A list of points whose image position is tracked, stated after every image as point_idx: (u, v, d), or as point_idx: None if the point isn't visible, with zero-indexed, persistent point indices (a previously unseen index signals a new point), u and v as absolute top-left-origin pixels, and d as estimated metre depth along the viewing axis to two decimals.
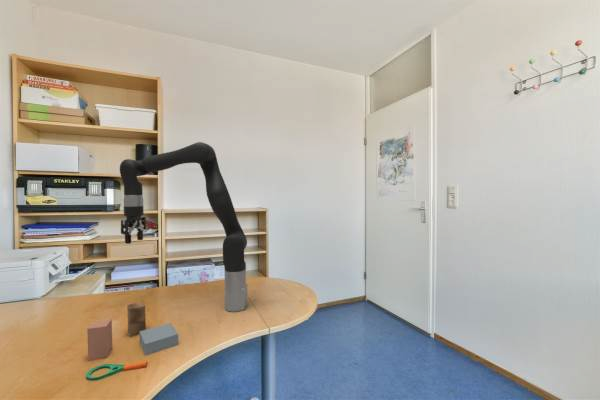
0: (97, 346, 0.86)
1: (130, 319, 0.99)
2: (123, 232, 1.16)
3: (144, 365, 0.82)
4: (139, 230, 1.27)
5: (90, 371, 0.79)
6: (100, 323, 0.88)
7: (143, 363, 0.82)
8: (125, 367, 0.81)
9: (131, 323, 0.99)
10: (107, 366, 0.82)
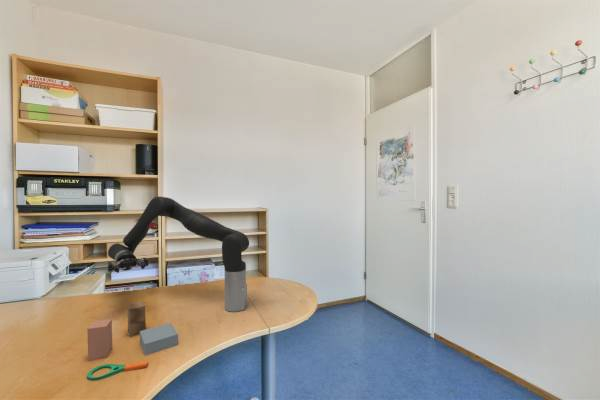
0: (97, 346, 0.86)
1: (130, 319, 0.99)
2: None
3: (145, 365, 0.82)
4: None
5: (91, 371, 0.79)
6: (100, 323, 0.88)
7: (143, 363, 0.82)
8: (126, 367, 0.80)
9: (131, 323, 0.99)
10: (108, 366, 0.82)
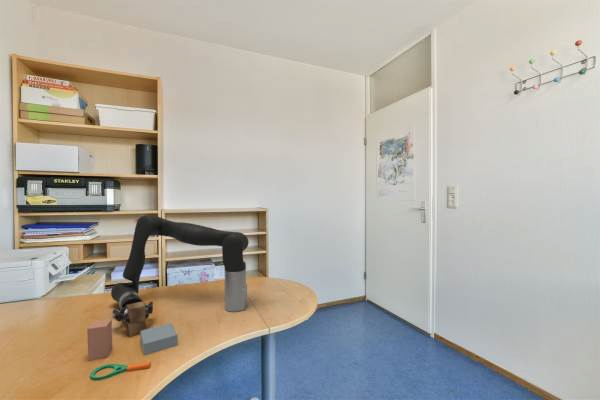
0: (97, 346, 0.86)
1: (130, 319, 0.99)
2: (118, 318, 1.00)
3: (147, 366, 0.81)
4: None
5: (94, 370, 0.79)
6: (100, 323, 0.88)
7: (146, 364, 0.82)
8: (128, 368, 0.80)
9: (131, 323, 0.99)
10: (111, 366, 0.82)
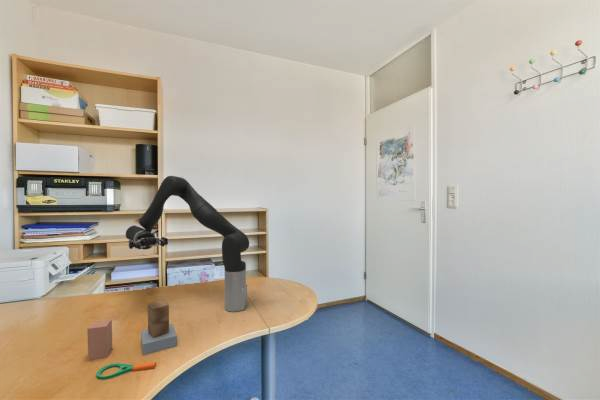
0: (97, 346, 0.86)
1: (154, 319, 0.91)
2: (129, 245, 1.11)
3: (152, 366, 0.81)
4: None
5: (101, 370, 0.80)
6: (100, 323, 0.88)
7: (151, 364, 0.82)
8: (134, 367, 0.80)
9: (155, 324, 0.91)
10: (117, 365, 0.82)
